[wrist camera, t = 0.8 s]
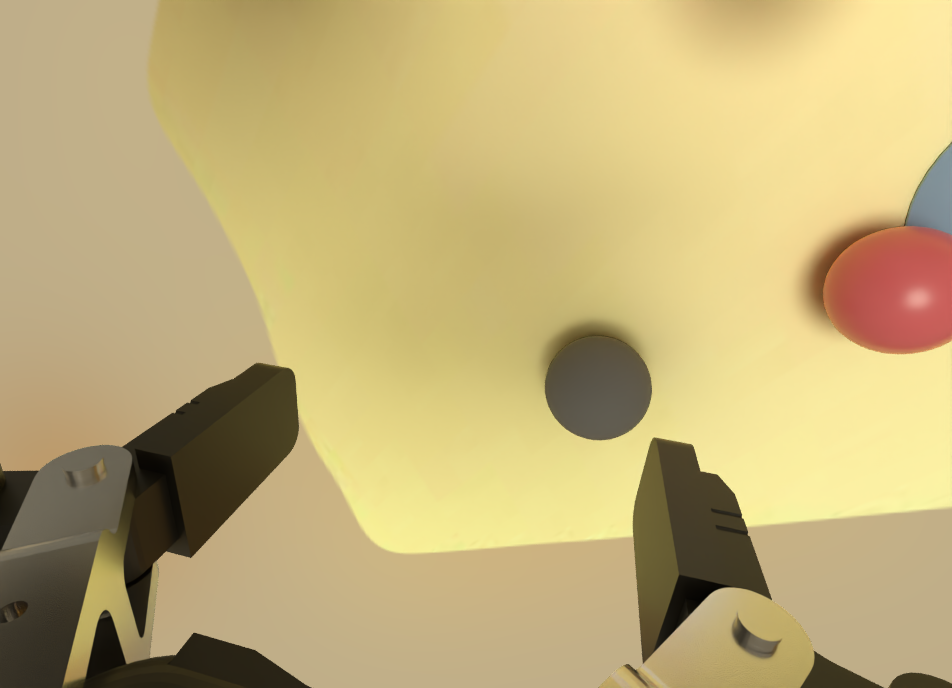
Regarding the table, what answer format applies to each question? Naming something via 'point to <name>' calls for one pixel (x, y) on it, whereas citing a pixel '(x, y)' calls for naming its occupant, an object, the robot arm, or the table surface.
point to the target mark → (934, 197)
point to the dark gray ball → (598, 387)
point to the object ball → (893, 290)
